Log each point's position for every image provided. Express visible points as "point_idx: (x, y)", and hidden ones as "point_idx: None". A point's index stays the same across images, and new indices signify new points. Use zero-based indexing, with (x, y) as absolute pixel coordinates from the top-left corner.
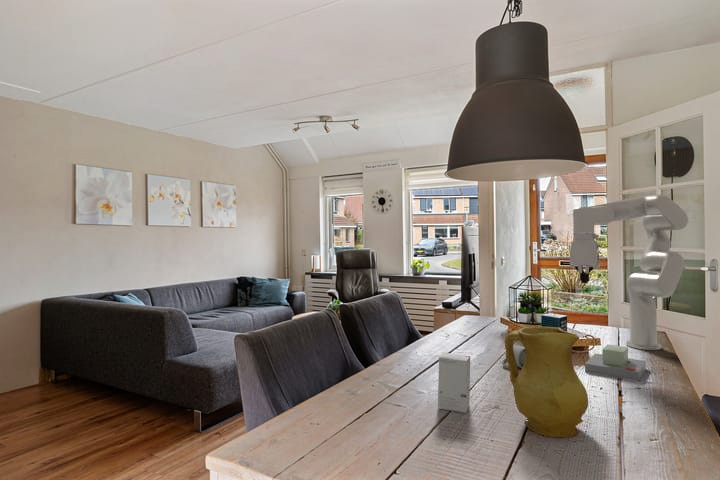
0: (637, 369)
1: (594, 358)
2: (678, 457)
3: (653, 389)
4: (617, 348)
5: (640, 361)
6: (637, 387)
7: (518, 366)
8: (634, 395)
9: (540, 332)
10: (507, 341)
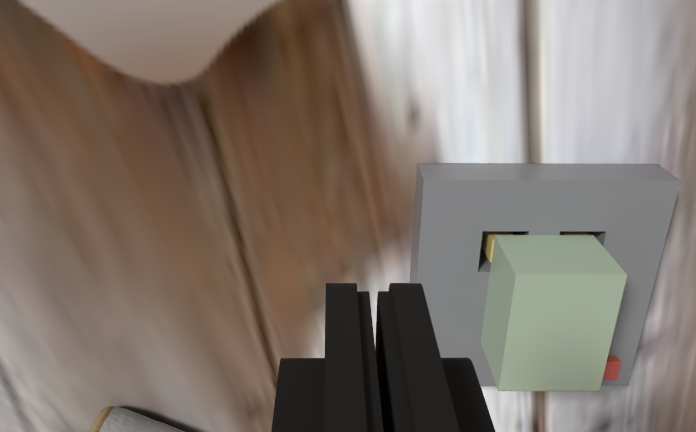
0: (626, 349)
1: (434, 283)
2: None
3: (652, 412)
4: (571, 335)
5: (653, 208)
6: (601, 422)
7: None
8: None
9: None
10: None
